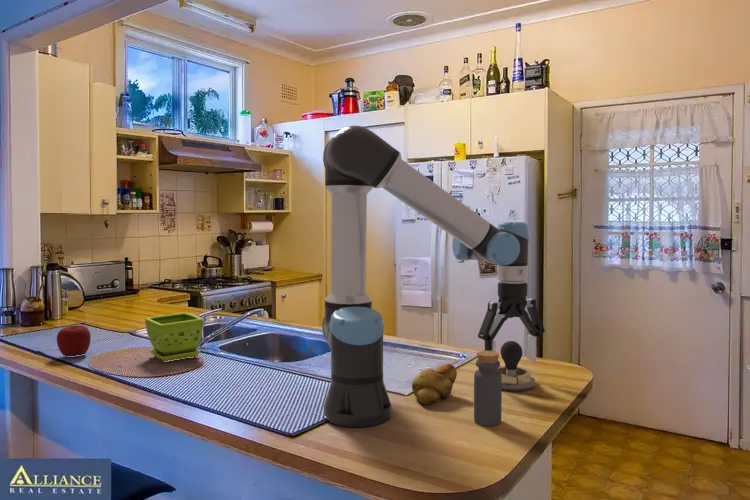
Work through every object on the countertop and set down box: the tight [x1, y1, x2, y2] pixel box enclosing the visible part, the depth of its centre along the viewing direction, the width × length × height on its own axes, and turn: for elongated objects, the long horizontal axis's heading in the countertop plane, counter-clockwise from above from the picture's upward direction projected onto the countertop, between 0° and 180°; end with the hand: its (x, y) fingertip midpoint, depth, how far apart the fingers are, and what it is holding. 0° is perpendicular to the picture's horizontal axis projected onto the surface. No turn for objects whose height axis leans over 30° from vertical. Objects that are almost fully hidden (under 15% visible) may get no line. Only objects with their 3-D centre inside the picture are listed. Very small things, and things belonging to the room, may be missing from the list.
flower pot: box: [144, 312, 204, 362], centre depth 173 cm, size 14×14×13 cm
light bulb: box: [499, 340, 523, 376], centre depth 144 cm, size 6×6×10 cm
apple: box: [56, 324, 92, 357], centre depth 175 cm, size 10×10×10 cm
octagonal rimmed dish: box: [497, 365, 536, 393], centre depth 145 cm, size 12×12×4 cm
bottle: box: [473, 350, 503, 427], centre depth 119 cm, size 6×6×15 cm
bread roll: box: [411, 363, 458, 405], centre depth 134 cm, size 13×10×8 cm
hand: (511, 362), depth 144 cm, fingers open, 12 cm apart
